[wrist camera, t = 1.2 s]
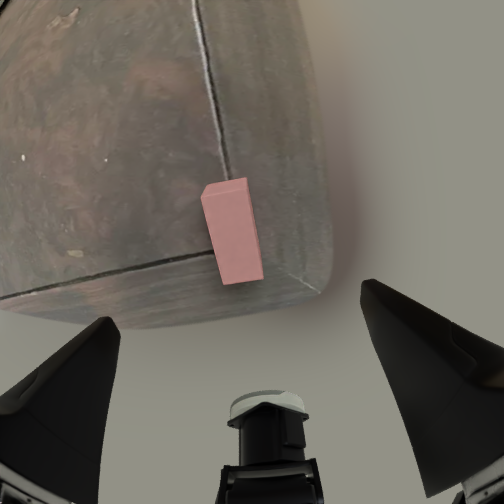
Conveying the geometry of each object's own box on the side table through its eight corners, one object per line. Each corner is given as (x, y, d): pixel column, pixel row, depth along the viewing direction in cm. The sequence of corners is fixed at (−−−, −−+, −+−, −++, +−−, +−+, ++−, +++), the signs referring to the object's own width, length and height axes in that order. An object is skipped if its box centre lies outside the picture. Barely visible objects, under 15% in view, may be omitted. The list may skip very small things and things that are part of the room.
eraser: (261, 257, 17) (263, 279, 14) (226, 263, 17) (223, 285, 15) (246, 176, 14) (246, 188, 12) (207, 184, 14) (200, 196, 12)
